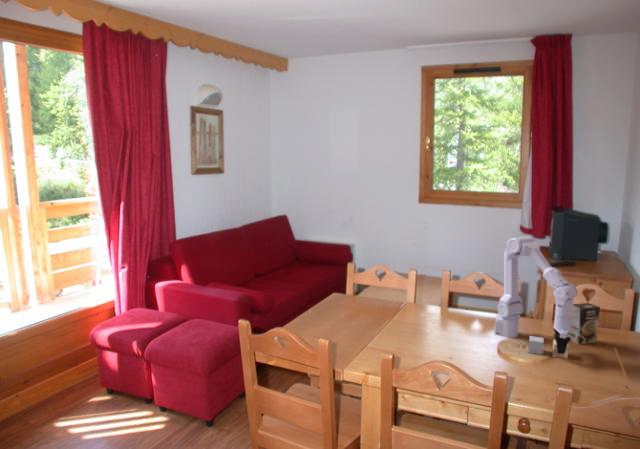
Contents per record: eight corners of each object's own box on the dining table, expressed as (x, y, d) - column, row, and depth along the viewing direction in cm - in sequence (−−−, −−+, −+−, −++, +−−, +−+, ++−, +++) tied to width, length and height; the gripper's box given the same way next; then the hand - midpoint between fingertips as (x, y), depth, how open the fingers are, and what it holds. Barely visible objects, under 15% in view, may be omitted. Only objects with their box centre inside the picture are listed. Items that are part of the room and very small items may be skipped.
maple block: (552, 356, 182) (553, 344, 181) (552, 351, 186) (553, 339, 186) (567, 359, 180) (568, 346, 179) (566, 353, 184) (567, 341, 184)
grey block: (528, 352, 185) (529, 340, 184) (528, 347, 190) (529, 335, 189) (542, 354, 183) (543, 342, 182) (542, 349, 188) (543, 337, 187)
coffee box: (578, 347, 193) (582, 309, 191) (566, 340, 200) (570, 303, 197) (596, 344, 196) (600, 307, 193) (584, 338, 202) (588, 302, 199)
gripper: (576, 323, 172) (573, 358, 174) (573, 311, 185) (571, 344, 188) (555, 320, 175) (552, 355, 177) (553, 308, 188) (551, 341, 190)
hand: (560, 349), depth 183 cm, fingers open, 7 cm apart
